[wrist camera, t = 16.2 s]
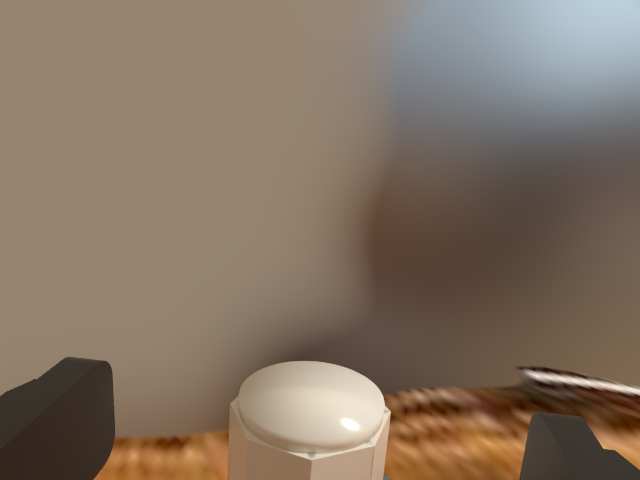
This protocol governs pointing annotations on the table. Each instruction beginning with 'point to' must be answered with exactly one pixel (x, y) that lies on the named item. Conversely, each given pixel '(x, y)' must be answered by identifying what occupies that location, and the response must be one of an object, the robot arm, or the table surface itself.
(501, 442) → the table surface
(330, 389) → the cup
